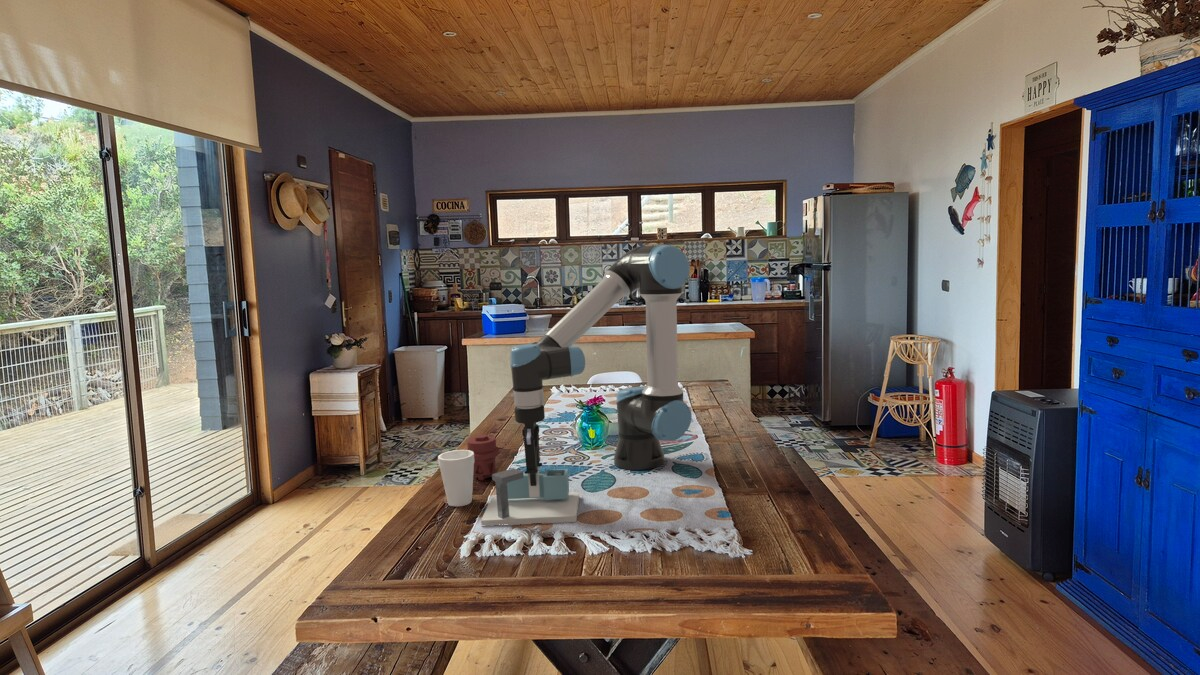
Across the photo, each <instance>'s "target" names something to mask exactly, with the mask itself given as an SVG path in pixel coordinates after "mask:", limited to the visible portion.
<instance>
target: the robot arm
mask: <svg viewBox="0 0 1200 675" xmlns="http://www.w3.org/2000/svg"><path fill="white" fill-rule="evenodd" d="M690 271H691V268H690V262H689V259H688V257H687V255H686V254H685V253H684V252H683V251H682V250H681V249H680V248H679V247H676V246H674V245H667V244H658V245H640V246H637V247H634V248H631V249H630V250H629V251H627V252H626V253H624V254H623V255H622V256H621V257H619V258H618V259H617V260H616V261H615V262H614V263H613V264H612V265H611V266H610V267H609V268H608V269H607V270H605V271H604V275H603V276H604V277H603V278H602V279H601V281H599V282H598V283H597V284H596V285H595V286H594V287H593V288H592V289H591V290H590V291H589V292H588V293H587V294H586V295H585V296H584V297H583V298H582V299H580V300H579V302H577V304H575V305H574V306H573V307H572V309H570V310H569V311H568V312H567V313H566V314H565V315H564V316H563V317H562V318H561V319H560V320H559V321H558V322H557V323H556V324H554V325H553V326H552V327H551V329H550V330H549V331H547V332H546V333H545V334H544V335H543V336H542V337H541V338H540V339H539V340H538V341H534V342H530V343H526V344H517V345H515V346H513V347H511V350H510V367H511V368H510V369H511V379H512V392H513V393H511V395H510V396H511V398H513V402H514V405H513V406H515V407H514V420H515V422H516V423H518V424H523V425H524V426H523V428H522V432H521V433H522V436H523V438H522V441H523V446H524V455H525V456H524V457H525V458H524V459H525V466H526V468H525V469H526V470H524V472H525V474H528V485H529V498H533V497H540V485H539V472H541V467H543V462H541V456H540V455H541V454H540V453H541V452H540V434H539V433H540V425H539V424H537V423H540V422H542V421H544V420H545V418H546V416H545V415H546V414H545V406H544V404H545V399H544V398H545V397H544V386H543V381H546V380H547V381H548V380H551V379H552V380H553V379H560V378H561V379H562V378H566V377H573V376H577V375H581V374H583V372H584V371H585V368H586V357H585V354H584V352H583V350H582V348H580V347H579V346H574V344H576V343H577V341H579V339H581V338H582V337H583V335H585V334H587V332H588V331H589V330H590V329H591V328H592V327H593V326H594V325H595V324H596V323H597V322H598V321H599V320H600V319H602V317H604V315H606V313H608V311H610V310H611V308H613V307H614V306H615V305H616V304H617V303H618V301H620V299H622V298H623V297H626V298H627V297H629V296H630V295H631V294H633V292H634V291H636V290H638V289H639V296H641V298H642V299H644V301H645V329H646V330H645V333H646V334H645V337H646V338H645V340H646V341H645V343H646V346H645V347H646V349H645V350H646V385H643V386H642V385H641V386H632V387H627V388H622V389H619V390H618V391H617V393H616V402H615V404H616V411H617V426H618V427H617V430H618V441H617V445H616V449H615V451H614V456H613V460H614V465H615V467H617V468H620V469H622V470H623V469H624V470H631V471H633V470H634V471H643V470H651V469H655V468H658V467H660V466H662V465H664V464H665V463H666V462H665V453H664V450H663V447H662V445H661V442H660V440H661V441H662V440H663V441H667V442H672V441H676V440H678V439H680V438H682V437H683V436H684V434H685V433H686V432H687V431H688V430H689V428H690V426H691V424H692V419H693V418H692V411H691V408H690V407H689V405H688V404H687V403H686V402H684V390H683V389H682V388H681V387H680V386H679V378H678V374H679V373H678V370H679V369H678V320H677V319H678V314H677V310H678V309H677V304H678V303H677V301H678V299H679V298H680V297H681V295H683V286H684V285H685V284H686V282H687V280H688V279H689V277H690Z"/></svg>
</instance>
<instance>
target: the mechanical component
mask: <svg viewBox="0 0 1200 675" xmlns="http://www.w3.org/2000/svg"><path fill="white" fill-rule="evenodd" d="M466 444H467V445H466V447H467V449H466V450H470V451H473V452H474V461H475V462H474V470H473V476H474V475H475V476H477V478H478V479H477V480H478V481H484V480H485V479H487V478H492V474H495V473H496V471H497V470H496V457H498V456H499V455H500V447H499V446H497V438H496V437H495V436H491V435H487V434H485V433H484V434H477V435H474V436H473V437H471V438H469V439H467V441H466Z"/></svg>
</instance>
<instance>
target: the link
mask: <svg viewBox="0 0 1200 675" xmlns="http://www.w3.org/2000/svg"><path fill="white" fill-rule="evenodd" d="M522 472H523V475H524V478H522V479H518V480H515V481H511V482H508V483H507V490H508V499H522V498H529V485H528V474H525V471H522ZM554 473H562V475H557V476H553V474H554ZM569 480H570V478H569V469H568V468H556V469H553V468H552V469H545V470H544V471H543V470H542V471H540V472H539V485H540V497H533V498H544V500H553V499H568V495H569V492H570V481H569Z"/></svg>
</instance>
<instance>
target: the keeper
mask: <svg viewBox="0 0 1200 675" xmlns="http://www.w3.org/2000/svg"><path fill="white" fill-rule="evenodd" d="M523 472H524V471H521V470H519V469H516V468H509V469H506V470H503V471H499V472H495V474H492V476H491V478H492V481H493V482H495V493H496V495H495V496H497V508H498V517H500V518H502V519H504V518H507V517H510V516H509V503H508V490H507V483H508V482H511V481H515V480H518V479H522V478H524V475H523Z"/></svg>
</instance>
